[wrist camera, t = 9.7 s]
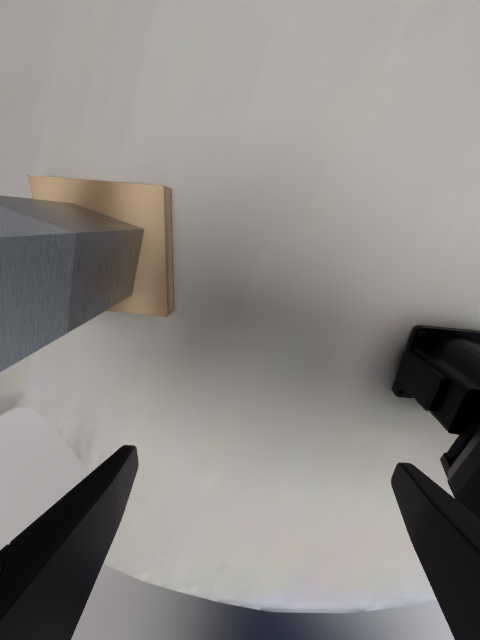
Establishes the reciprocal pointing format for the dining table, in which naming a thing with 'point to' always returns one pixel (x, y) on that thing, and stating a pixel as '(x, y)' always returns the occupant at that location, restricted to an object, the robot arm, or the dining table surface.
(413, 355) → the robot arm
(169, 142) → the dining table surface
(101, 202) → the cork pad
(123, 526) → the dining table surface
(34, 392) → the dining table surface
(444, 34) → the dining table surface
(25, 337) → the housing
